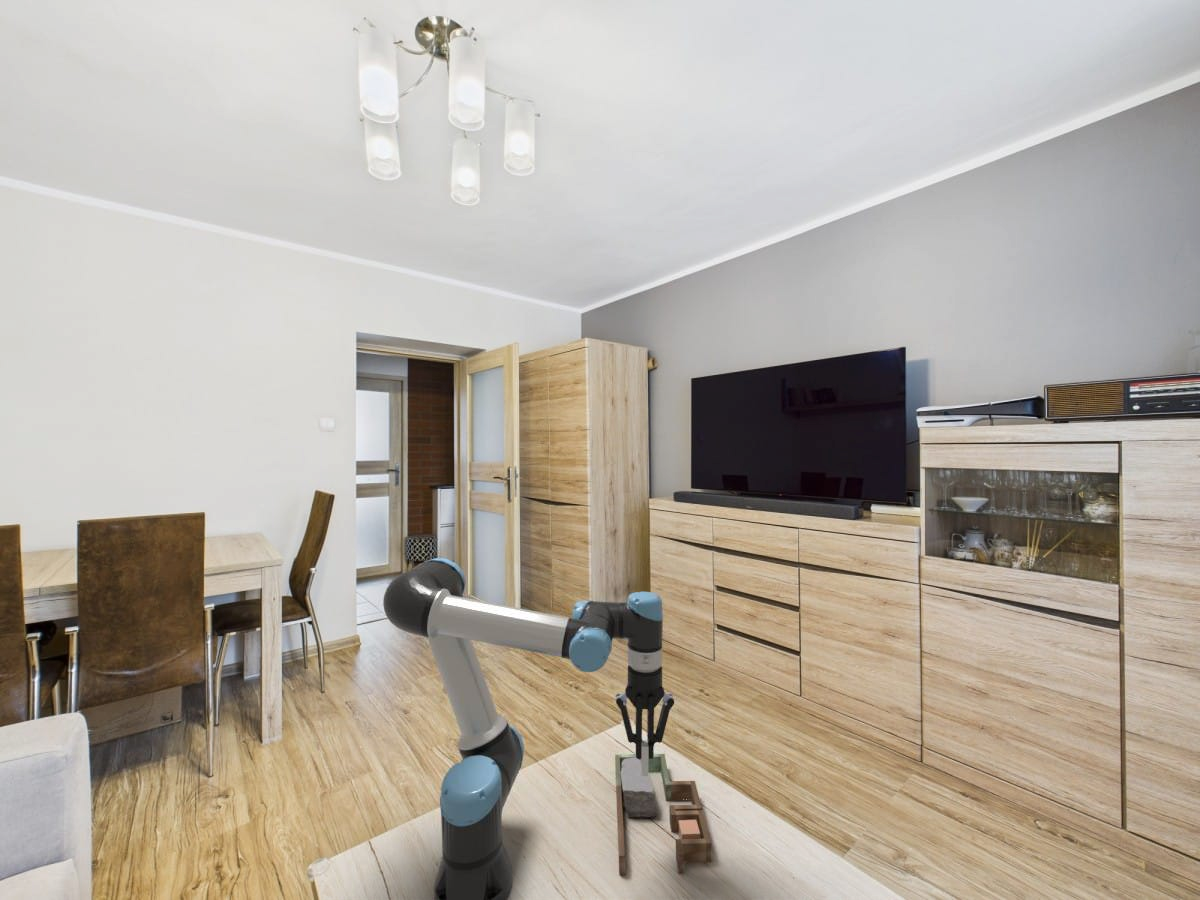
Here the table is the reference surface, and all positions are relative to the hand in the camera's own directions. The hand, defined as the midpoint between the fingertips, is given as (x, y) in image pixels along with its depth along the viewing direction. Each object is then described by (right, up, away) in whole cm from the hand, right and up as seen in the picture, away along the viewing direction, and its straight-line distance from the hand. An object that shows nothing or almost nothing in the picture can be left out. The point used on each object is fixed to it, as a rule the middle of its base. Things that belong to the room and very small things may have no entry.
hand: (644, 771), depth 110 cm
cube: (+10, -16, +1) cm, 19 cm away
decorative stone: (-1, -17, +14) cm, 22 cm away
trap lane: (+4, -16, +10) cm, 19 cm away
